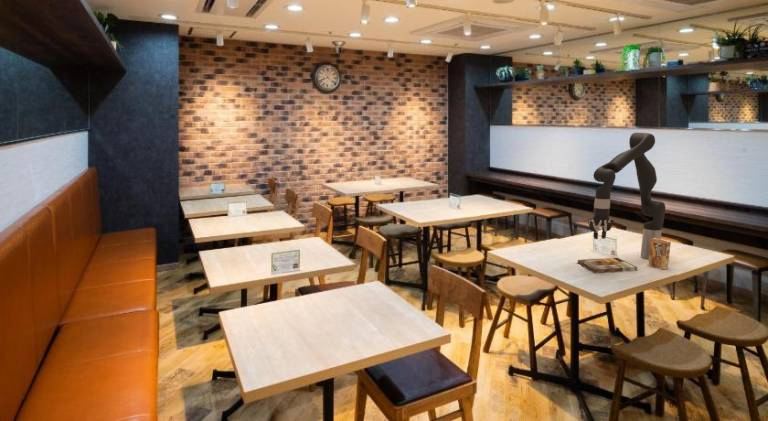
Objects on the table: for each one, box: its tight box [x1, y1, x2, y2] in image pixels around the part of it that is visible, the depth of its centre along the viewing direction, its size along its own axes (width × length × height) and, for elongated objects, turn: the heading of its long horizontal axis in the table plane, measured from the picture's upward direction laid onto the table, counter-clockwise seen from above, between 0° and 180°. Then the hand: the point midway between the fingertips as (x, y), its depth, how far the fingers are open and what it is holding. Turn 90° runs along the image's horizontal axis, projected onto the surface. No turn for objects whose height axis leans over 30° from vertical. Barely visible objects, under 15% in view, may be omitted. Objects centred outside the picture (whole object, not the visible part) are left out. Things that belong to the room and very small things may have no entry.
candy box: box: [647, 238, 672, 270], centre depth 260 cm, size 9×4×15 cm, turn 34°
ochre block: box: [601, 257, 619, 265], centre depth 259 cm, size 6×6×3 cm
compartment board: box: [577, 257, 638, 274], centre depth 263 cm, size 24×17×4 cm
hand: (599, 238), depth 255 cm, fingers open, 3 cm apart
